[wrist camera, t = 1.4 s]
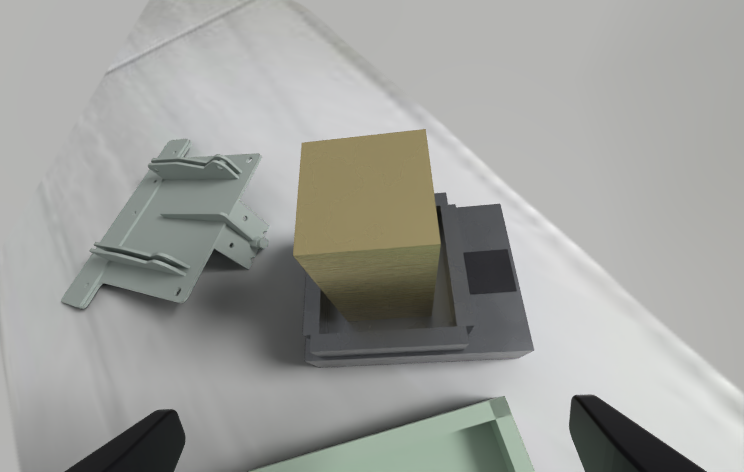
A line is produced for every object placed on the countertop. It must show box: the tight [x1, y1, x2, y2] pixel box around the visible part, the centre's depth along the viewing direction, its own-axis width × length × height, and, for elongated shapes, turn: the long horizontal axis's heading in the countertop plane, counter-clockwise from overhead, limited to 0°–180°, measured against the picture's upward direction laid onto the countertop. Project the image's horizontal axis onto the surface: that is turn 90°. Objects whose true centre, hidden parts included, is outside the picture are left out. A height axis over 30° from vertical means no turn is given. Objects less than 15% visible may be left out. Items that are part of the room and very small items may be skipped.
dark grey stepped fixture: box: [303, 193, 534, 368], centre depth 20 cm, size 8×12×5 cm
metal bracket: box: [61, 139, 270, 309], centre depth 26 cm, size 14×6×15 cm
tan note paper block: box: [293, 129, 441, 321], centre depth 15 cm, size 4×4×9 cm
